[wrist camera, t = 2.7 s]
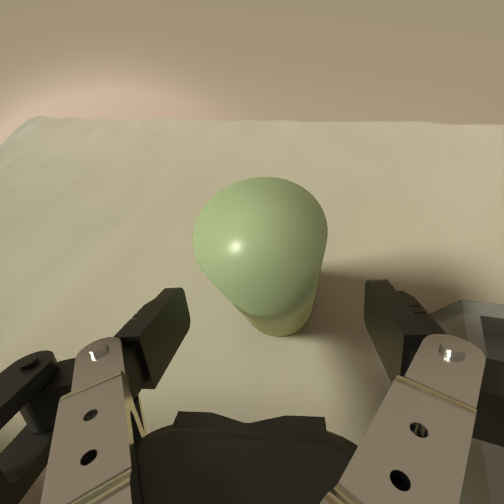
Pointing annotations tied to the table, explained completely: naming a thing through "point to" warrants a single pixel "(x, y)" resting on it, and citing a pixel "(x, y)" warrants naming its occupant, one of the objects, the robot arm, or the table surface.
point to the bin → (493, 347)
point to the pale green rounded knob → (264, 250)
